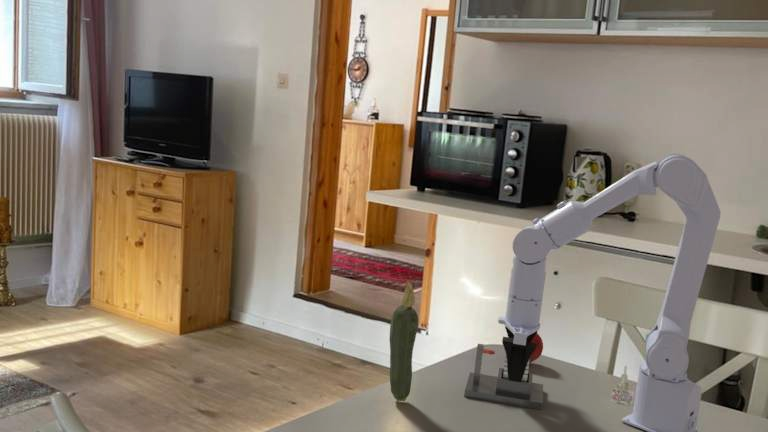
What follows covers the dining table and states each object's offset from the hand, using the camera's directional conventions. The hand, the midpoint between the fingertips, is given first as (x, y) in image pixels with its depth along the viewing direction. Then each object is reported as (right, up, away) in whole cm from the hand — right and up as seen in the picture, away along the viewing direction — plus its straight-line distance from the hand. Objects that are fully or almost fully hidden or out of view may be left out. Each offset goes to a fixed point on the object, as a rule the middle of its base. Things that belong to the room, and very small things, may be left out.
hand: (515, 373), depth 127 cm
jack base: (-2, -4, +1) cm, 4 cm away
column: (0, -3, 0) cm, 3 cm away
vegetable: (-21, -3, -8) cm, 22 cm away
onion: (+5, -2, +18) cm, 18 cm away
